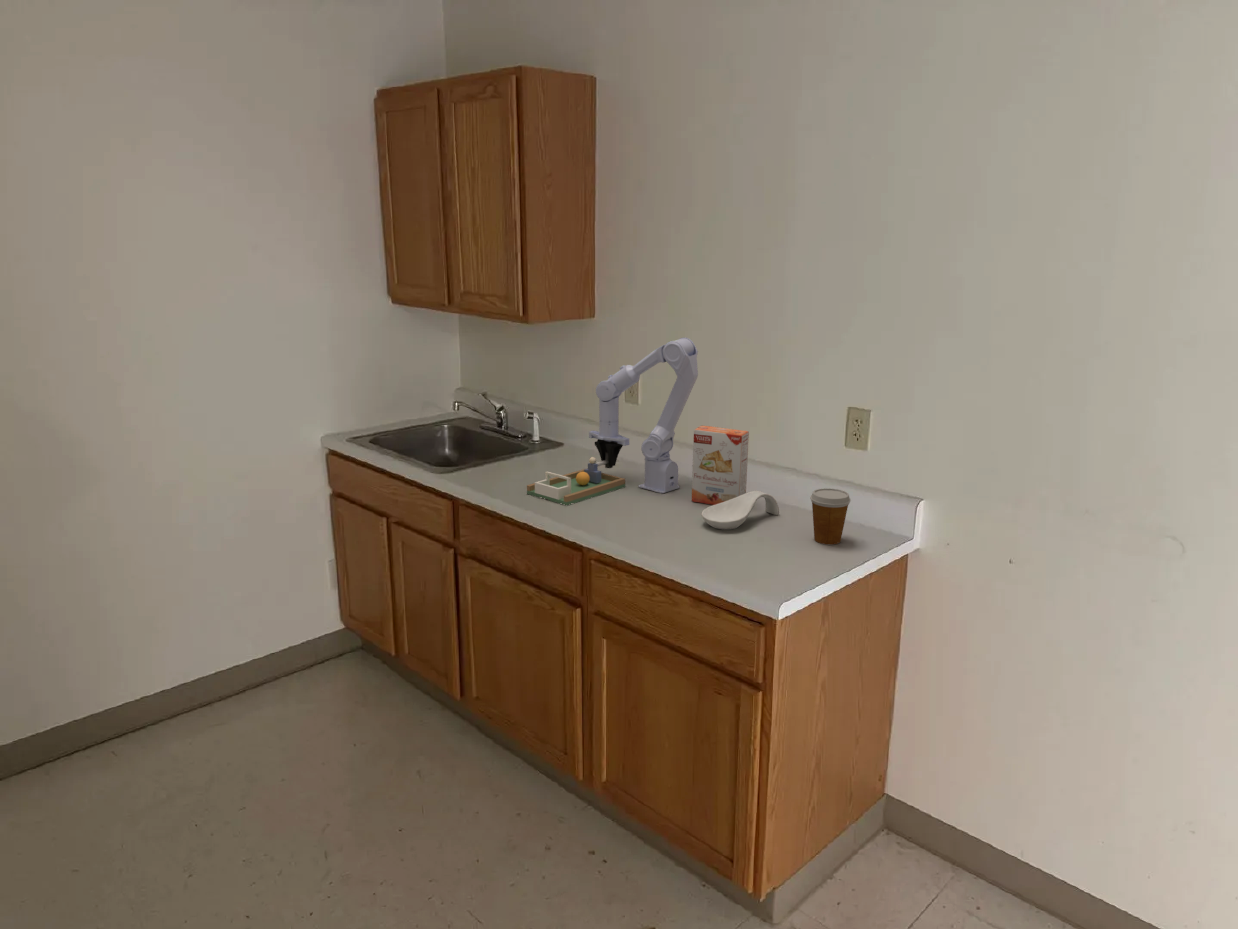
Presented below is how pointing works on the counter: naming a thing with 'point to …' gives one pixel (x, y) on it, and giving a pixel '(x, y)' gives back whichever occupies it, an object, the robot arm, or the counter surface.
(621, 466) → the counter surface
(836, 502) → the disposable coffee cup
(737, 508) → the spoon rest
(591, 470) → the striker
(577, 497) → the pitch
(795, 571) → the counter surface
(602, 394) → the robot arm
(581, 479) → the ball
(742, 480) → the cracker box
